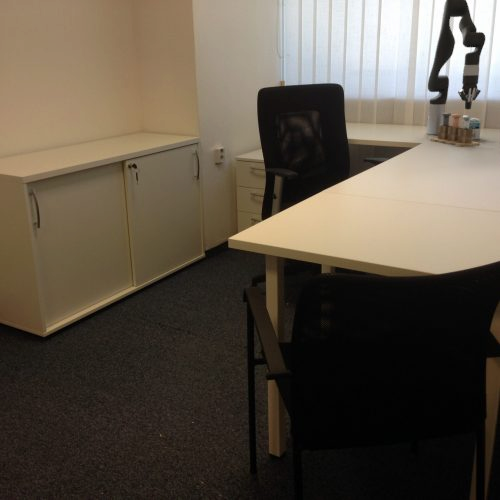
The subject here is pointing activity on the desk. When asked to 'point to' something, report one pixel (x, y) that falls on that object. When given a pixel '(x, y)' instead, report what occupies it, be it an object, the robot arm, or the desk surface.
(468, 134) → the socket board
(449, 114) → the peg
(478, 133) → the light bulb box
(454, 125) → the plug terracotta
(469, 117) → the plug grey
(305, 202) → the desk surface
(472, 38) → the robot arm
